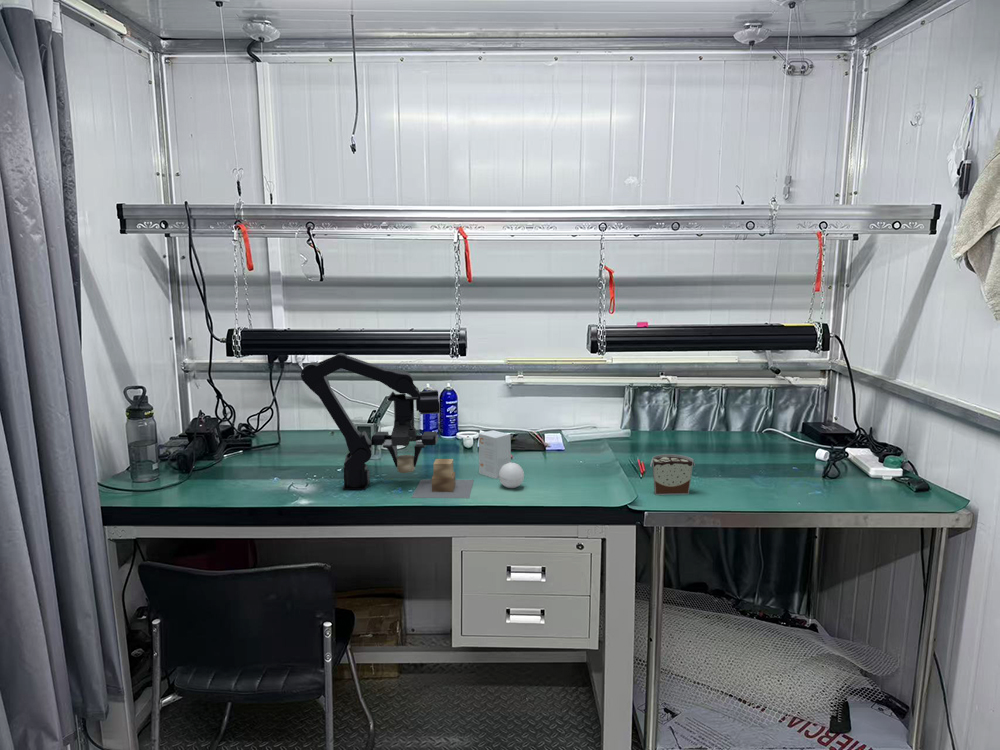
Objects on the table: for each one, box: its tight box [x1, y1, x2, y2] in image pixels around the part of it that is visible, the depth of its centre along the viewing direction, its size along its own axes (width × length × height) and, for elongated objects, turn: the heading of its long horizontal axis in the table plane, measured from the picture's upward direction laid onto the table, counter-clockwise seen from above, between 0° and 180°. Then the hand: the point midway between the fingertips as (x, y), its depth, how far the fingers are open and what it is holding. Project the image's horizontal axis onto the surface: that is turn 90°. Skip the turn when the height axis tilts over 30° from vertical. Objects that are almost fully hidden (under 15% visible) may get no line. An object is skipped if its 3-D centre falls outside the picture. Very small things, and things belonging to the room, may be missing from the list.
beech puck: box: [396, 454, 416, 474], centre depth 186 cm, size 5×5×4 cm
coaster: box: [411, 478, 475, 499], centre depth 182 cm, size 16×16×1 cm
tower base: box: [431, 471, 456, 492], centre depth 181 cm, size 6×6×4 cm
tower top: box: [432, 458, 454, 478], centre depth 181 cm, size 5×5×4 cm
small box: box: [478, 429, 512, 480], centre depth 194 cm, size 8×6×13 cm
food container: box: [649, 453, 696, 496], centre depth 178 cm, size 12×6×10 cm, turn 91°
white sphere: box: [493, 462, 525, 489], centre depth 182 cm, size 10×7×7 cm
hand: (405, 466), depth 186 cm, fingers closed on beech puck, 5 cm apart
